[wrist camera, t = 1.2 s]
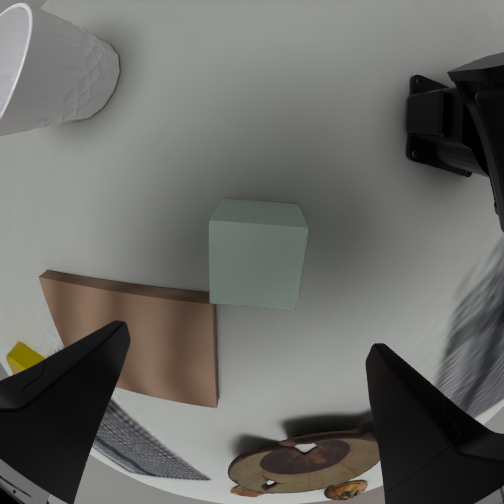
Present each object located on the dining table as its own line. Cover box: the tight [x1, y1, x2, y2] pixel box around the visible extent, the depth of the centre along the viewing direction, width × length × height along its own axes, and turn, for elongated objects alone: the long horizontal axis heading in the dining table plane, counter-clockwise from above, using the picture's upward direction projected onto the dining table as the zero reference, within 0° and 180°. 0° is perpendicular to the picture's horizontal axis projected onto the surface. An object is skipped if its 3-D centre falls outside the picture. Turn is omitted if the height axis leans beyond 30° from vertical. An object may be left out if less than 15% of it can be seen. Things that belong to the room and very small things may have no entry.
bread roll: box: [324, 480, 368, 500], centre depth 41 cm, size 11×11×5 cm
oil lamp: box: [228, 421, 380, 494], centre depth 28 cm, size 22×30×8 cm
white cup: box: [0, 3, 120, 136], centre depth 10 cm, size 8×8×10 cm
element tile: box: [6, 342, 46, 375], centre depth 29 cm, size 15×15×5 cm
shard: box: [230, 485, 266, 497], centre depth 42 cm, size 11×8×2 cm
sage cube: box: [209, 199, 309, 310], centre depth 17 cm, size 5×5×5 cm
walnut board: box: [39, 270, 219, 408], centre depth 23 cm, size 18×14×2 cm
